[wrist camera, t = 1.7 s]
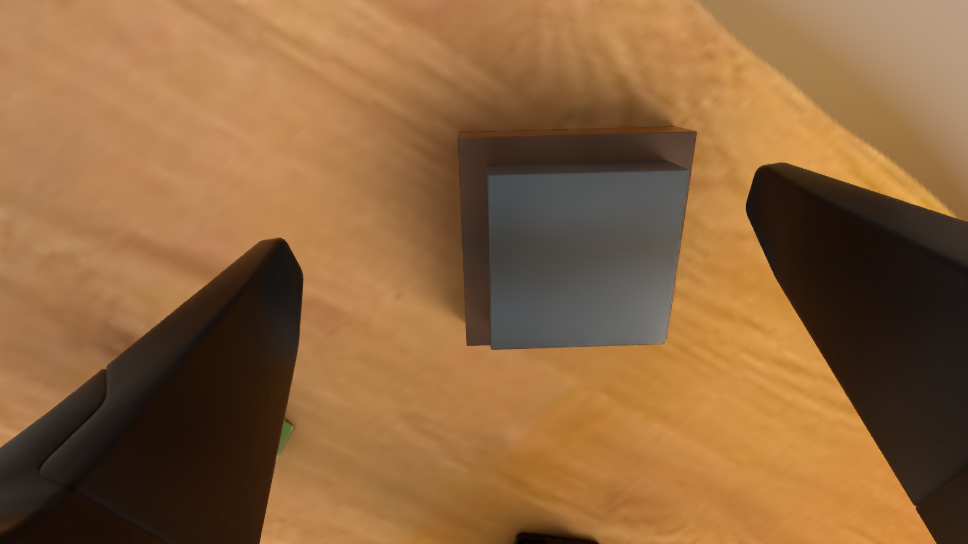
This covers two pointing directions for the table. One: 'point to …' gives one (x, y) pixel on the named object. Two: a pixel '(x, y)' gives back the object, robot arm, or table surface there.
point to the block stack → (572, 234)
